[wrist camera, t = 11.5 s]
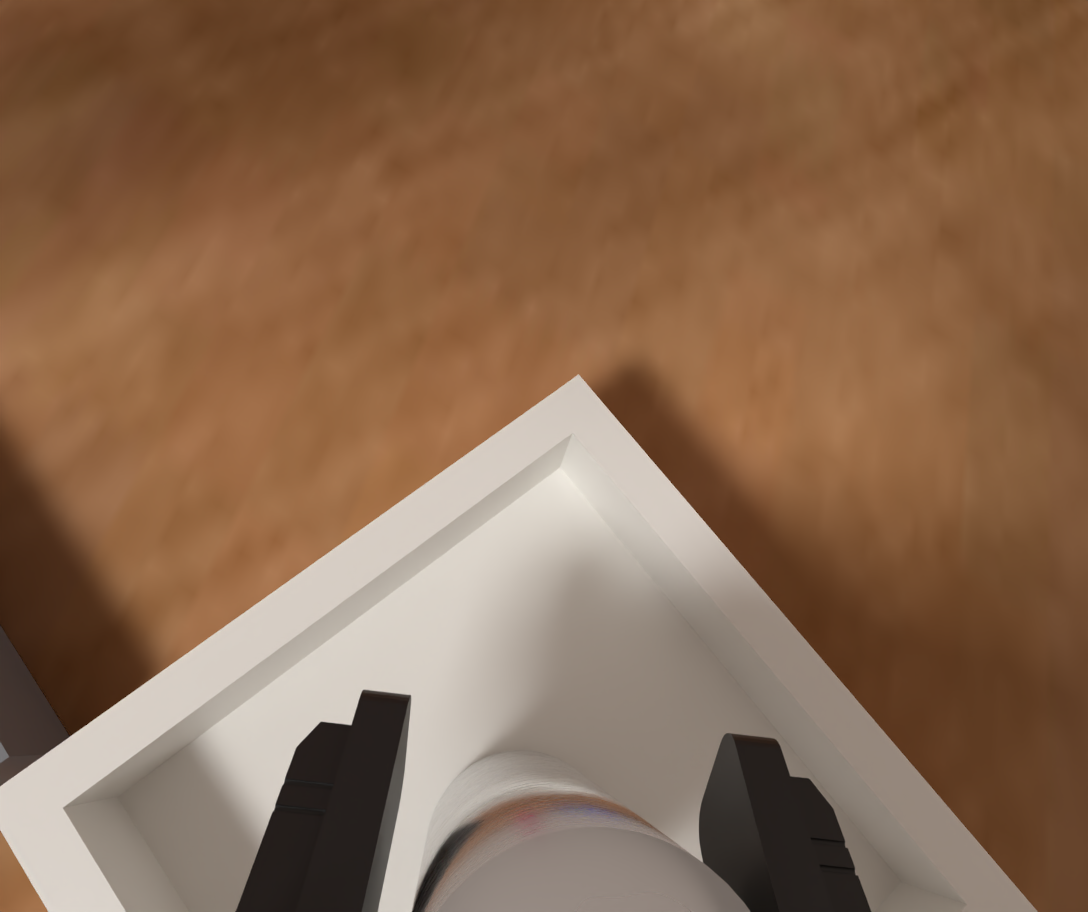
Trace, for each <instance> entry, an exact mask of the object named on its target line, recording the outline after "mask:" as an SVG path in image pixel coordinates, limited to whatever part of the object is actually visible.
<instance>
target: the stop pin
mask: <svg viewBox="0 0 1088 912" xmlns="http://www.w3.org/2000/svg"><path fill="white" fill-rule="evenodd" d="M412 912H750V910H749V909H748V907H747V906H746V904H745V903H744V902H743V901H742V900H741V899H740V897H739V896H738V895H737V894H736V893H735V892H734V891H733V889H732V888H731V887H730V886H729V885H728V884H727V883H726V882H725V881H724V880H723V879H722V878H720V877H719V876H718V875H717V874H716V873H715V872H714V871H713V870H711V869H710V868H709V867H708V866H707V865H705V864H704V863H703V862H701V861H700V860H699V859H697V858H696V857H694V856H693V855H692V854H690V853H689V852H688V851H686V850H685V849H684V848H682V847H681V846H680V845H678V844H677V843H675V842H674V841H673V840H671V839H670V838H669V837H667V836H666V835H665V834H663V833H662V832H660V831H659V830H658V829H656V828H655V827H654V826H652V825H651V824H650V823H648V822H647V821H645V820H644V819H643V818H641V817H640V816H639V815H637V814H636V813H635V812H633V811H632V810H631V809H629V808H628V807H626V806H625V805H624V804H622V803H621V802H620V801H618V800H617V799H616V798H614V797H613V796H611V795H610V794H609V793H607V792H606V791H605V790H603V789H602V788H601V787H599V786H598V785H597V784H595V783H594V782H592V781H591V780H590V779H588V778H587V777H586V776H584V775H583V774H582V773H580V772H579V771H577V770H576V769H575V768H573V767H572V766H570V765H569V764H567V763H566V762H564V761H562V760H560V759H558V758H556V757H554V756H552V755H549V754H546V753H543V752H538V751H532V750H511V751H504V752H500V753H496V754H493V755H490V756H488V757H485V758H483V759H481V760H479V761H478V762H476V763H474V764H472V765H471V766H470V767H468V768H467V769H465V770H464V771H463V772H462V773H461V774H460V775H459V776H458V777H456V778H455V779H454V780H453V782H452V783H451V784H450V785H449V786H448V788H447V789H446V790H445V792H444V793H443V795H442V797H441V798H440V800H439V801H438V803H437V806H436V808H435V810H434V812H433V814H432V817H431V820H430V823H429V827H428V832H427V836H426V841H425V847H424V852H423V857H422V862H421V867H420V872H419V877H418V882H417V887H416V892H415V897H414V903H413V908H412Z"/></svg>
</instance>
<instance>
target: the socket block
mask: <svg viewBox="0 0 1088 912" xmlns="http://www.w3.org/2000/svg"><path fill="white" fill-rule="evenodd" d="M69 737H70V736H69V735H68V733H67V731H66V730H65V728H64V727H63V725H62V723H61V722H60V720H59V719H58V717H57V715H56V714H55V712H54V711H53V709H52V707H51V706H50V704H49V703H48V701H47V699H46V698H45V696H44V694H43V693H42V691H41V690H40V688H39V686H38V685H37V683H36V682H35V680H34V678H33V677H32V675H31V674H30V672H29V670H28V669H27V667H26V666H25V664H24V662H23V661H22V659H21V658H20V656H19V654H18V653H17V651H16V650H15V648H14V646H13V645H12V643H11V642H10V640H9V638H8V637H7V635H6V634H5V632H4V630H3V629H2V627H1V625H0V786H1V785H3V784H4V783H6V782H7V781H9V780H10V779H11V778H13V777H14V776H16V775H17V774H18V773H20V772H21V771H23V770H24V769H25V768H27V767H28V766H30V765H31V764H32V763H34V762H35V761H37V760H38V759H39V758H41V757H42V756H44V755H45V754H46V753H48V752H49V751H51V750H52V749H53V748H55V747H56V746H58V745H59V744H60V743H62V742H63V741H65V740H66V739H68V738H69Z"/></svg>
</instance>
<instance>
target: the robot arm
mask: <svg viewBox="0 0 1088 912" xmlns="http://www.w3.org/2000/svg"><path fill="white" fill-rule="evenodd" d="M410 709H411V695H406V694H398V693H389V692H381V691H372V690H363V691H362V693H361V695H360V698H359V701H358V705H357V708H356V711H355V715H354V718H353V721H352V725H346V724H338V723H329V722H320V723H319V724H318V725H317V726H316V727H315V728H314V729H313V730H312V731H311V732H310V733H309V734H308V735H307V737H306V738H305V739H304V740H303V741H302V742H301V743H300V744H299V745H298V746H297V747H296V750H295V752H294V755H293V758H292V761H291V763H290V766H289V769H288V771H287V774H286V777H285V782H284V785H282V788H281V790H280V793H279V796H278V798H277V801H276V804H275V809H274V811H273V812H272V815H271V817H270V820H269V823H268V826H267V828H266V831H265V834H264V836H263V839H262V842H261V844H260V847H259V850H258V853H257V855H256V858H255V861H254V863H253V866H252V869H251V872H250V874H249V877H248V880H247V882H246V885H245V888H244V890H243V893H242V896H241V899H240V901H239V904H238V907H237V909H236V911H235V912H378V908H379V903H380V898H381V893H382V888H383V883H384V878H385V874H386V869H387V864H388V859H389V854H390V849H391V844H392V839H393V834H394V830H395V825H396V820H397V815H398V810H399V804H400V799H401V793H402V786H403V779H404V771H405V762H406V751H407V741H408V730H409V720H410ZM699 842H700V849H701V854H702V859H703V863H704V864H705V865H707V866H708V867H709V868H710V869H711V870H713V871H714V872H715V873H716V874H717V875H718V876H719V877H720V878H722V879H723V880H724V881H725V882H726V883H727V884H728V885H729V886H730V887H731V888H732V889H733V891H734V892H735V893H736V894H737V895H738V896H739V897H740V899H741V900H742V901H743V902H744V903H745V904H746V906H747V907H748V909H749V910H750V912H871V909H870V907H869V904H868V901H867V898H866V896H865V893H864V890H863V888H862V885H861V882H860V880H859V877H858V875H855V866H854V863H853V861H852V858H851V855H850V852H849V850H848V848H846V847H845V839H844V836H843V834H842V831H841V828H840V825H839V823H838V820H837V817H836V815H835V812H834V809H833V808H832V806H831V805H830V804H829V803H828V801H827V800H826V799H825V798H824V796H823V795H822V794H821V793H820V791H819V790H818V789H817V788H816V786H815V785H814V784H813V782H812V781H811V780H810V779H809V778H801V777H792V776H790V774H789V771H788V768H787V765H786V762H785V759H784V756H783V753H782V749H781V747H780V745H779V743H778V741H777V740H776V739H774V738H767V737H758V736H749V735H741V734H732V733H726V734H725V735H724V736H723V738H722V740H721V743H720V746H719V749H718V752H717V755H716V758H715V762H714V765H713V768H712V771H711V774H710V777H709V780H708V783H707V786H706V789H705V793H704V796H703V799H702V802H701V807H700V814H699Z"/></svg>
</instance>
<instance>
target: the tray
mask: <svg viewBox="0 0 1088 912" xmlns="http://www.w3.org/2000/svg"><path fill="white" fill-rule="evenodd" d="M363 690H372V691H381V692H389V693H398V694H406V695H411V709H410V720H409V730H408V741H407V751H406V762H405V771H404V779H403V786H402V793H401V799H400V804H399V810H398V815H397V820H396V825H395V830H394V834H393V839H392V844H391V849H390V854H389V859H388V864H387V869H386V874H385V878H384V883H383V888H382V893H381V898H380V903H379V908H378V912H412V908H413V903H414V897H415V892H416V887H417V882H418V877H419V872H420V867H421V862H422V857H423V852H424V847H425V841H426V836H427V832H428V827H429V823H430V820H431V817H432V814H433V812H434V810H435V808H436V806H437V803H438V801H439V800H440V798H441V797H442V795H443V793H444V792H445V790H446V789H447V788H448V786H449V785H450V784H451V783H452V782H453V780H454V779H455V778H456V777H458V776H459V775H460V774H461V773H462V772H463V771H464V770H465V769H467V768H468V767H470V766H471V765H472V764H474V763H476V762H478V761H479V760H481V759H483V758H485V757H488V756H490V755H493V754H496V753H500V752H504V751H511V750H532V751H538V752H543V753H546V754H549V755H552V756H554V757H556V758H558V759H560V760H562V761H564V762H566V763H567V764H569V765H570V766H572V767H573V768H575V769H576V770H577V771H579V772H580V773H582V774H583V775H584V776H586V777H587V778H588V779H590V780H591V781H592V782H594V783H595V784H597V785H598V786H599V787H601V788H602V789H603V790H605V791H606V792H607V793H609V794H610V795H611V796H613V797H614V798H616V799H617V800H618V801H620V802H621V803H622V804H624V805H625V806H626V807H628V808H629V809H631V810H632V811H633V812H635V813H636V814H637V815H639V816H640V817H641V818H643V819H644V820H645V821H647V822H648V823H650V824H651V825H652V826H654V827H655V828H656V829H658V830H659V831H660V832H662V833H663V834H665V835H666V836H667V837H669V838H670V839H671V840H673V841H674V842H675V843H677V844H678V845H680V846H681V847H682V848H684V849H685V850H686V851H688V852H689V853H690V854H692V855H693V856H694V857H696V858H697V859H699V860H700V861H701V862H703V859H702V854H701V849H700V842H699V814H700V807H701V802H702V799H703V796H704V793H705V789H706V786H707V783H708V780H709V777H710V774H711V771H712V768H713V765H714V762H715V758H716V755H717V752H718V749H719V746H720V743H721V740H722V738H723V736H724V735H725V734H726V733H732V734H741V735H749V736H758V737H767V738H774V739H776V740H777V741H778V743H779V745H780V747H781V749H782V753H783V756H784V759H785V762H786V765H787V768H788V771H789V774H790V776H792V777H801V778H809V779H810V780H811V781H812V782H813V784H814V785H815V786H816V788H817V789H818V790H819V791H820V793H821V794H822V795H823V796H824V798H825V799H826V800H827V801H828V803H829V804H830V805H831V806H832V808H833V809H834V812H835V815H836V817H837V820H838V823H839V825H840V828H841V831H842V834H843V836H844V839H845V847H846V848H848V850H849V852H850V855H851V858H852V861H853V863H854V866H855V875H858V877H859V880H860V882H861V885H862V888H863V890H864V893H865V896H866V898H867V901H868V904H869V907H870V909H871V912H1038V911H1037V910H1036V909H1035V908H1034V907H1033V906H1032V904H1031V903H1030V902H1029V901H1028V900H1027V899H1026V897H1025V896H1024V895H1023V894H1022V893H1021V892H1020V890H1019V889H1018V888H1017V887H1016V886H1015V884H1014V883H1013V882H1012V881H1011V880H1010V879H1009V877H1008V876H1007V875H1006V874H1005V873H1004V872H1003V870H1002V869H1001V868H1000V867H999V866H998V865H997V863H996V862H995V861H994V860H993V859H992V858H991V856H990V855H989V854H988V853H987V852H986V851H985V849H984V848H983V847H982V846H981V845H980V844H979V842H978V841H977V840H976V839H975V838H974V837H973V835H972V834H971V833H970V832H969V831H968V829H967V828H966V827H965V826H964V825H963V824H962V822H961V821H960V820H959V819H958V818H957V817H956V815H955V814H954V813H953V812H952V811H951V810H950V808H949V807H948V806H947V805H946V804H945V803H944V801H943V800H942V799H941V798H940V797H939V796H938V794H937V793H936V792H935V791H934V790H933V789H932V787H931V786H930V785H929V784H928V783H927V782H926V780H925V779H924V778H923V777H922V776H921V774H920V773H919V772H918V771H917V770H916V769H915V767H914V766H913V765H912V764H911V763H910V762H909V760H908V759H907V758H906V757H905V756H904V755H903V753H902V752H901V751H900V750H899V749H898V748H897V746H896V745H895V744H894V743H893V742H892V741H891V739H890V738H889V737H888V736H887V735H886V734H885V732H884V731H883V730H882V729H881V728H880V727H879V725H878V724H877V723H876V722H875V721H874V719H873V718H872V717H871V716H870V715H869V714H868V712H867V711H866V710H865V709H864V708H863V707H862V705H861V704H860V703H859V702H858V701H857V700H856V698H855V697H854V696H853V695H852V694H851V693H850V691H849V690H848V689H847V688H846V687H845V686H844V684H843V683H842V682H841V681H840V680H839V679H838V677H837V676H836V675H835V674H834V673H833V672H832V670H831V669H830V668H829V667H828V666H827V664H826V663H825V662H824V661H823V660H822V659H821V657H820V656H819V655H818V654H817V653H816V652H815V650H814V649H813V648H812V647H811V646H810V645H809V643H808V642H807V641H806V640H805V639H804V638H803V636H802V635H801V634H800V633H799V632H798V631H797V629H796V628H795V627H794V626H793V625H792V624H791V622H790V621H789V620H788V619H787V618H786V617H785V615H784V614H783V613H782V612H781V611H780V609H779V608H778V607H777V606H776V605H775V604H774V602H773V601H772V600H771V599H770V598H769V597H768V595H767V594H766V593H765V592H764V591H763V590H762V588H761V587H760V586H759V585H758V584H757V583H756V581H755V580H754V579H753V578H752V577H751V576H750V574H749V573H748V572H747V571H746V570H745V569H744V567H743V566H742V565H741V564H740V563H739V562H738V560H737V559H736V558H735V557H734V556H733V555H732V553H731V552H730V551H729V550H728V549H727V547H726V546H725V545H724V544H723V543H722V542H721V540H720V539H719V538H718V537H717V536H716V535H715V533H714V532H713V531H712V530H711V529H710V528H709V526H708V525H707V524H706V523H705V522H704V521H703V519H702V518H701V517H700V516H699V515H698V514H697V512H696V511H695V510H694V509H693V508H692V507H691V505H690V504H689V503H688V502H687V501H686V500H685V498H684V497H683V496H682V495H681V494H680V492H679V491H678V490H677V489H676V488H675V487H674V485H673V484H672V483H671V482H670V481H669V480H668V478H667V477H666V476H665V475H664V474H663V473H662V471H661V470H660V469H659V468H658V467H657V466H656V464H655V463H654V462H653V461H652V460H651V459H650V457H649V456H648V455H647V454H646V453H645V452H644V450H643V449H642V448H641V447H640V446H639V445H638V443H637V442H636V441H635V440H634V439H633V437H632V436H631V435H630V434H629V433H628V432H627V430H626V429H625V428H624V427H623V426H622V425H621V423H620V422H619V421H618V420H617V419H616V418H615V416H614V415H613V414H612V413H611V412H610V411H609V409H608V408H607V407H606V406H605V405H604V404H603V402H602V401H601V400H600V399H599V398H598V397H597V395H596V394H595V393H594V392H593V391H592V390H591V388H590V387H589V386H588V385H587V384H586V382H585V381H584V380H583V379H582V378H581V377H580V375H577V376H576V377H574V378H573V379H572V380H570V381H569V382H567V383H566V384H565V385H563V386H562V387H560V388H559V389H558V390H556V391H555V392H553V393H552V394H551V395H549V396H548V397H546V398H545V399H544V400H542V401H541V402H539V403H538V404H537V405H535V406H534V407H532V408H531V409H530V410H528V411H527V412H525V413H524V414H523V415H521V416H520V417H518V418H517V419H515V420H514V421H513V422H511V423H510V424H508V425H507V426H506V427H504V428H503V429H501V430H500V431H499V432H497V433H496V434H494V435H493V436H492V437H490V438H489V439H487V440H486V441H485V442H483V443H482V444H480V445H479V446H478V447H476V448H475V449H473V450H472V451H471V452H469V453H468V454H466V455H465V456H464V457H462V458H461V459H459V460H458V461H456V462H455V463H454V464H452V465H451V466H449V467H448V468H447V469H445V470H444V471H442V472H441V473H440V474H438V475H437V476H435V477H434V478H433V479H431V480H430V481H428V482H427V483H426V484H424V485H423V486H421V487H420V488H419V489H417V490H416V491H414V492H413V493H412V494H410V495H409V496H407V497H406V498H405V499H403V500H402V501H400V502H399V503H398V504H396V505H395V506H393V507H392V508H390V509H389V510H388V511H386V512H385V513H383V514H382V515H381V516H379V517H378V518H376V519H375V520H374V521H372V522H371V523H369V524H368V525H367V526H365V527H364V528H362V529H361V530H360V531H358V532H357V533H355V534H354V535H353V536H351V537H350V538H348V539H347V540H346V541H344V542H343V543H341V544H340V545H339V546H337V547H336V548H334V549H333V550H332V551H330V552H329V553H327V554H326V555H324V556H323V557H322V558H320V559H319V560H317V561H316V562H315V563H313V564H312V565H310V566H309V567H308V568H306V569H305V570H303V571H302V572H301V573H299V574H298V575H296V576H295V577H294V578H292V579H291V580H289V581H288V582H287V583H285V584H284V585H282V586H281V587H280V588H278V589H277V590H275V591H274V592H273V593H271V594H270V595H268V596H267V597H266V598H264V599H263V600H261V601H260V602H258V603H257V604H256V605H254V606H253V607H251V608H250V609H249V610H247V611H246V612H244V613H243V614H242V615H240V616H239V617H237V618H236V619H235V620H233V621H232V622H230V623H229V624H228V625H226V626H225V627H223V628H222V629H221V630H219V631H218V632H216V633H215V634H214V635H212V636H211V637H209V638H208V639H207V640H205V641H204V642H202V643H201V644H200V645H198V646H197V647H195V648H194V649H192V650H191V651H190V652H188V653H187V654H185V655H184V656H183V657H181V658H180V659H178V660H177V661H176V662H174V663H173V664H171V665H170V666H169V667H167V668H166V669H164V670H163V671H162V672H160V673H159V674H157V675H156V676H155V677H153V678H152V679H150V680H149V681H148V682H146V683H145V684H143V685H142V686H141V687H139V688H138V689H136V690H135V691H134V692H132V693H131V694H129V695H128V696H126V697H125V698H124V699H122V700H121V701H119V702H118V703H117V704H115V705H114V706H112V707H111V708H110V709H108V710H107V711H105V712H104V713H103V714H101V715H100V716H98V717H97V718H96V719H94V720H93V721H91V722H90V723H89V724H87V725H86V726H84V727H83V728H82V729H80V730H79V731H77V732H76V733H75V734H73V735H72V736H70V737H69V738H68V739H66V740H65V741H63V742H62V743H60V744H59V745H58V746H56V747H55V748H53V749H52V750H51V751H49V752H48V753H46V754H45V755H44V756H42V757H41V758H39V759H38V760H37V761H35V762H34V763H32V764H31V765H30V766H28V767H27V768H25V769H24V770H23V771H21V772H20V773H18V774H17V775H16V776H14V777H13V778H11V779H10V780H9V781H7V782H6V783H4V784H3V785H1V786H0V830H1V832H2V834H3V835H4V837H5V839H6V841H7V842H8V844H9V846H10V847H11V849H12V851H13V852H14V854H15V856H16V858H17V859H18V861H19V863H20V864H21V866H22V868H23V869H24V871H25V873H26V875H27V876H28V878H29V880H30V881H31V883H32V885H33V886H34V888H35V890H36V892H37V893H38V895H39V897H40V898H41V900H42V902H43V903H44V905H45V907H46V909H47V910H48V912H235V911H236V909H237V907H238V904H239V901H240V899H241V896H242V893H243V890H244V888H245V885H246V882H247V880H248V877H249V874H250V872H251V869H252V866H253V863H254V861H255V858H256V855H257V853H258V850H259V847H260V844H261V842H262V839H263V836H264V834H265V831H266V828H267V826H268V823H269V820H270V817H271V815H272V812H273V811H274V809H275V804H276V801H277V798H278V796H279V793H280V790H281V788H282V785H284V782H285V777H286V774H287V771H288V769H289V766H290V763H291V761H292V758H293V755H294V752H295V750H296V747H297V746H298V745H299V744H300V743H301V742H302V741H303V740H304V739H305V738H306V737H307V735H308V734H309V733H310V732H311V731H312V730H313V729H314V728H315V727H316V726H317V725H318V724H319V723H320V722H329V723H338V724H346V725H352V721H353V718H354V715H355V711H356V708H357V705H358V701H359V698H360V695H361V693H362V691H363Z"/></svg>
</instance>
